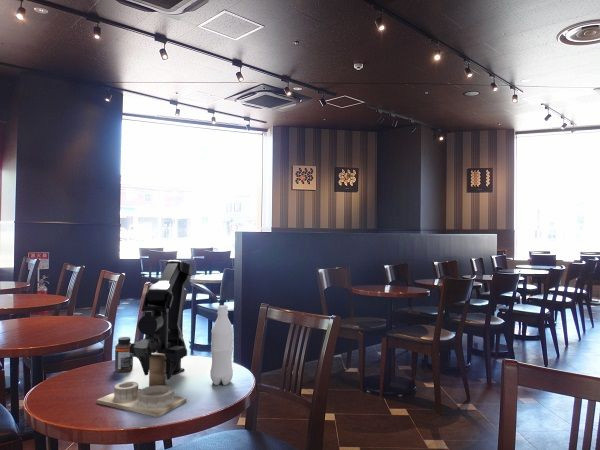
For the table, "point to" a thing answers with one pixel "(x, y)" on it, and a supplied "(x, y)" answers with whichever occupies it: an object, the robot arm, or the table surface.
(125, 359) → the supplement bottle
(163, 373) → the walnut peg
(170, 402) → the two-ring peg board
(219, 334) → the water bottle
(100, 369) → the table surface
